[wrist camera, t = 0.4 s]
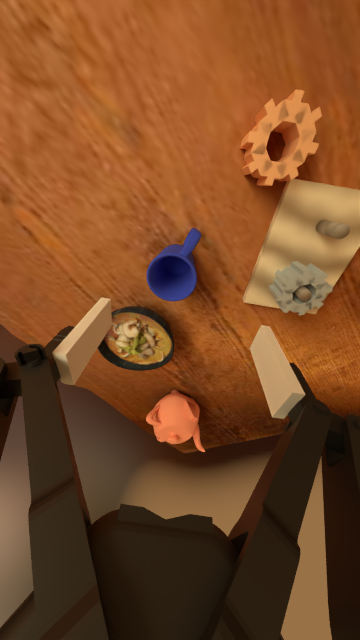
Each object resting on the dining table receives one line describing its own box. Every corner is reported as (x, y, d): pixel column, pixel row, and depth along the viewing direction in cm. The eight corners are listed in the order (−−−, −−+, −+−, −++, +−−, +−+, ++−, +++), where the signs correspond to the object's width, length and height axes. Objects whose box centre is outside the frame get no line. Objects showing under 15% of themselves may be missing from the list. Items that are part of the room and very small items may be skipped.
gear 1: (251, 100, 26) (261, 83, 22) (316, 111, 26) (338, 96, 22) (232, 181, 31) (237, 179, 27) (286, 190, 31) (299, 190, 27)
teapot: (197, 384, 61) (196, 427, 50) (204, 413, 70) (205, 455, 59) (149, 387, 64) (139, 429, 53) (162, 414, 73) (155, 455, 62)
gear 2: (268, 266, 37) (277, 276, 33) (320, 255, 35) (337, 264, 31) (268, 306, 42) (276, 318, 37) (314, 298, 40) (328, 311, 36)
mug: (216, 235, 36) (222, 248, 28) (184, 286, 42) (181, 309, 34) (178, 210, 34) (172, 216, 26) (150, 267, 40) (138, 287, 32)
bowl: (182, 345, 52) (179, 374, 44) (123, 349, 55) (110, 378, 47) (170, 288, 43) (163, 311, 34) (100, 297, 45) (78, 321, 37)
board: (287, 178, 30) (308, 176, 25) (385, 195, 31) (428, 196, 25) (242, 299, 43) (249, 316, 37) (312, 310, 43) (329, 329, 37)
